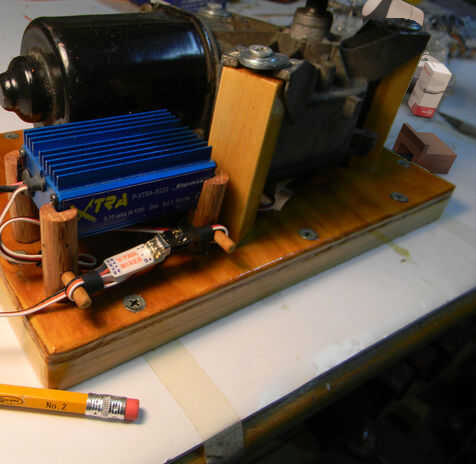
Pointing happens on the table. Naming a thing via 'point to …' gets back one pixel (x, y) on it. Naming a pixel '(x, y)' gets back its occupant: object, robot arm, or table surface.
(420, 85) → the ink box
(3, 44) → the table surface
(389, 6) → the robot arm
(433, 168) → the dark brown wooden box
